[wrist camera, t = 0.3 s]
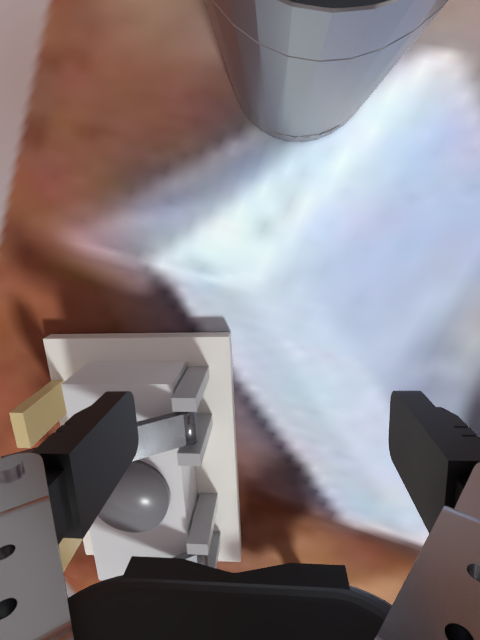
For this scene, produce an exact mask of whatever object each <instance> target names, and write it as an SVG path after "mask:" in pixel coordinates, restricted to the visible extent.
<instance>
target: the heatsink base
mask: <svg viewBox="0 0 480 640" xmlns="http://www.w3.org/2000/svg"><path fill="white" fill-rule="evenodd" d="M43 342H44V347H45V352H46V357H47V362H48V367H49V372H50V377H51V381H50V382H49V383H48V384H46V385H45V386H44V387H42V388H41V389H40V390H38V391H37V392H36V393H35V394H33V395H32V396H31V397H29V398H28V399H27V400H25V401H24V402H23V403H21V404H20V405H19V406H17V407H16V408H15V409H13V410H12V411H11V412H10V413H9V414H10V418H11V422H12V427H13V431H14V435H15V439H16V443H17V447H18V448H31V447H32V446H33V445H34V444H35V443H36V442H37V441H38V440H39V439H41V438H42V437H43V436H44V435H45V434H46V433H47V432H48V431H49V430H50V429H51V428H52V427H53V426H54V425H55V424H56V423H57V422H58V421H59V422H60V427H61V426H62V425H64V423H65V422H66V421H67V420H68V419H70V418H71V417H72V416H73V415H74V414H76V413H77V412H79V411H81V410H83V409H85V408H87V407H89V406H91V405H92V404H93V403H94V402H95V401H97V400H98V399H99V398H100V397H101V396H102V395H103V394H104V393H105V392H107V391H130V392H132V394H133V396H134V402H135V410H136V419H137V422H138V421H142V420H146V419H149V418H153V417H157V416H161V415H165V414H169V413H173V412H195V415H196V427H197V439H198V442H197V443H196V444H195V445H192V446H187V445H186V446H183V447H179V448H176V449H173V450H169V451H166V452H162V453H159V454H156V455H152V456H149V457H146V458H142V459H139V460H136V461H132V462H131V464H130V465H129V467H128V468H127V470H126V472H125V473H124V475H123V476H122V478H121V480H120V481H119V483H118V484H117V486H116V488H115V489H114V491H113V492H112V494H111V495H110V497H109V499H108V500H107V502H106V503H105V505H104V507H103V508H102V510H101V511H100V513H99V514H98V516H97V518H96V519H95V521H94V522H93V524H92V526H91V527H90V529H89V530H88V532H87V534H86V535H85V537H84V538H83V539H76V538H63V539H62V541H61V542H60V544H59V550H60V556H61V561H62V567H63V572H64V571H65V569H66V567H67V565H68V564H69V562H70V560H71V559H72V557H73V555H74V553H75V552H76V550H77V548H78V547H79V545H80V543H81V542H82V540H83V542H84V547H85V552H86V555H94V557H95V562H96V567H97V572H98V578H99V580H106V579H110V578H113V577H116V576H121V575H124V572H125V570H126V568H127V566H128V563H129V561H130V559H131V557H132V556H139V557H162V558H173V557H175V556H177V555H180V554H182V553H185V552H187V554H195V555H207V557H208V566H209V567H213V568H216V569H217V563H218V561H229V562H241V555H242V543H241V524H240V504H239V484H238V465H237V445H236V426H235V406H234V387H233V367H232V348H231V332H187V333H104V334H51V335H49V336H47V337H45V338H44V339H43Z"/></svg>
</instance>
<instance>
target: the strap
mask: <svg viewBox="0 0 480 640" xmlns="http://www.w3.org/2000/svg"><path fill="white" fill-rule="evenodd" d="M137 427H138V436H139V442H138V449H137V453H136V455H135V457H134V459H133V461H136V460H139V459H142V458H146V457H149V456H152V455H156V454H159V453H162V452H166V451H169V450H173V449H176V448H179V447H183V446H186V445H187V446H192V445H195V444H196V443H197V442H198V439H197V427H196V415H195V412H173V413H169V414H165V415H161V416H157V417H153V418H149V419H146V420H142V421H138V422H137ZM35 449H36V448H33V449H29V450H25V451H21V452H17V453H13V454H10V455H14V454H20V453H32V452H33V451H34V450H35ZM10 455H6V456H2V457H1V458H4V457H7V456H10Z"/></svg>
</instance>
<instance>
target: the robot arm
mask: <svg viewBox="0 0 480 640" xmlns="http://www.w3.org/2000/svg"><path fill="white" fill-rule="evenodd" d="M447 1H448V0H205V3H206V6H207V9H208V12H209V15H210V18H211V21H212V25H213V28H214V31H215V34H216V37H217V40H218V43H219V46H220V49H221V52H222V55H223V58H224V61H225V64H226V67H227V71H228V74H229V77H230V80H231V83H232V86H233V89H234V92H235V94H236V97H237V99H238V101H239V104H240V106H241V108H242V109H243V111H244V112H245V114H246V115H247V116H248V118H249V119H250V121H252V122H253V123H254V124H255V125H256V126H257V127H258V128H259V129H260V130H262V131H263V132H265V133H267V134H269V135H270V136H272V137H274V138H278V139H281V140H284V141H289V142H306V141H311V140H317V139H319V138H322V137H324V136H327V135H329V134H331V133H333V132H334V131H336V130H337V129H338V128H340V127H341V126H343V125H344V124H345V123H346V122H347V121H348V120H349V119H350V118H351V117H352V116H353V115H354V114H355V113H356V112H357V111H358V109H359V108H360V107H361V106H362V104H363V103H364V102H365V101H366V100H367V99H368V97H369V96H370V95H371V94H372V93H373V92H374V90H375V89H376V88H377V87H378V85H379V84H380V83H381V82H382V81H383V79H384V78H385V77H386V76H387V74H388V73H389V72H390V71H391V70H392V68H393V67H394V66H395V65H396V63H397V62H398V61H399V60H400V59H401V57H402V56H403V55H404V54H405V52H406V51H407V50H408V49H409V48H410V46H411V45H412V44H413V43H414V41H415V40H416V39H417V38H418V37H419V35H420V34H421V33H422V32H423V30H424V29H425V28H426V27H427V26H428V24H429V23H430V22H431V21H432V19H433V18H434V17H435V16H436V14H437V13H438V12H439V11H440V10H441V8H442V7H443V6H444V5H445V3H446V2H447ZM138 442H139V436H138V427H137V419H136V410H135V402H134V396H133V394H132V392H130V391H107V392H105V393H104V394H103V395H102V396H101V397H100V398H99V399H98V400H97V401H95V402H94V403H93V404H92V405H91V406H89V407H87V408H85V409H83V410H81V411H79V412H77V413H76V414H74V415H73V416H72V417H71V418H70V419H68V420H67V421H66V422H65V423H64V425H62V426H61V427H60V428H58V429H57V430H56V433H53V434H52V435H51V436H49V437H48V438H47V439H46V440H45V441H44V442H43V443H42V444H41V445H39V446H38V447H37V448H36V449H35V450H34V451H33V452H32V453H20V454H14V455H10V456H7V457H4V458H1V459H0V640H480V438H479V437H477V435H476V434H475V433H474V432H473V431H472V430H471V429H470V428H468V426H467V425H466V424H465V423H464V422H463V421H462V420H461V419H460V418H459V417H458V416H457V415H455V414H453V413H451V412H449V411H448V410H446V409H444V408H442V407H435V406H434V405H433V404H432V403H431V401H430V400H429V399H428V398H427V397H426V396H425V395H424V394H423V393H422V392H421V391H393V392H392V395H391V401H390V422H389V450H390V455H391V459H392V461H393V463H394V465H395V467H396V469H397V471H398V473H399V475H400V477H401V479H402V481H403V483H404V485H405V487H406V489H407V491H408V493H409V495H410V497H411V499H412V501H413V502H414V504H415V506H416V508H417V510H418V512H419V514H420V516H421V518H422V520H423V522H424V524H425V526H426V528H427V530H428V532H429V536H428V538H427V539H426V541H425V543H424V545H423V547H422V549H421V551H420V553H419V555H418V557H417V559H416V561H415V563H414V565H413V566H412V568H411V570H410V572H409V574H408V576H407V578H406V580H405V582H404V584H403V586H402V588H401V590H400V592H399V593H398V595H397V597H396V599H395V601H394V603H393V605H391V604H389V603H388V602H386V601H385V600H383V599H381V598H379V597H377V596H375V595H373V594H371V593H369V592H366V591H364V590H361V589H359V588H356V587H352V586H349V582H348V577H347V573H346V568H345V565H324V564H301V563H288V564H283V565H277V566H272V567H267V568H261V569H256V570H251V571H245V572H240V573H230V572H226V571H223V570H220V569H216V568H213V567H209V566H206V565H203V564H199V563H196V562H192V561H189V560H186V559H182V558H162V557H139V556H132V557H131V559H130V561H129V563H128V566H127V568H126V570H125V572H124V575H121V576H116V577H113V578H110V579H106V580H103V581H101V582H98V583H96V584H93V585H91V586H89V587H87V588H85V589H83V590H81V591H79V592H77V593H76V594H74V595H72V596H71V597H69V598H68V595H67V589H66V584H65V578H64V572H63V567H62V561H61V556H60V550H59V544H60V542H61V541H62V539H63V538H76V539H83V538H84V537H85V535H86V534H87V532H88V530H89V529H90V527H91V526H92V524H93V522H94V521H95V519H96V518H97V516H98V514H99V513H100V511H101V510H102V508H103V507H104V505H105V503H106V502H107V500H108V499H109V497H110V495H111V494H112V492H113V491H114V489H115V488H116V486H117V484H118V483H119V481H120V480H121V478H122V476H123V475H124V473H125V472H126V470H127V468H128V467H129V465H130V464H131V462H132V461H133V459H134V457H135V455H136V453H137V449H138Z"/></svg>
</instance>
